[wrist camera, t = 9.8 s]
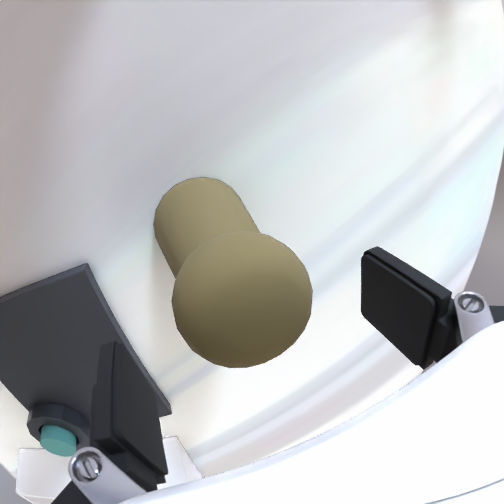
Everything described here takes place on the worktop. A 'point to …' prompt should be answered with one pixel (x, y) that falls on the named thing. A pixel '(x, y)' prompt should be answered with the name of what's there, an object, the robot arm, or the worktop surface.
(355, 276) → the worktop surface
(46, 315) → the scale
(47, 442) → the button
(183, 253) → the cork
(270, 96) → the worktop surface
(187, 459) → the white tray with pad
